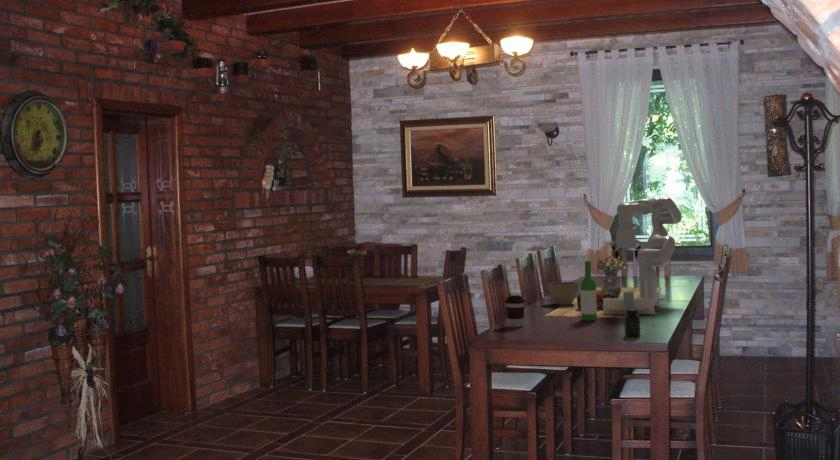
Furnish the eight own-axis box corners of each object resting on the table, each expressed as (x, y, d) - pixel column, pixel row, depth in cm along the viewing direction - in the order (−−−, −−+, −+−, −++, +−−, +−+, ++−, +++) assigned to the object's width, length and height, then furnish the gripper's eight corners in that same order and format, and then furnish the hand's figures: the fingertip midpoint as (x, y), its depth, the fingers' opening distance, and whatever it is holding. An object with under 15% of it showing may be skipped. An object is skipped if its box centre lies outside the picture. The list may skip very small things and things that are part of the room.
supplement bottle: (622, 335, 380) (622, 308, 379) (637, 334, 380) (636, 308, 380) (627, 337, 373) (627, 310, 373) (642, 336, 374) (642, 310, 373)
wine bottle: (580, 321, 423) (578, 261, 421) (582, 319, 430) (581, 260, 429) (595, 321, 420) (594, 261, 419) (598, 319, 427) (596, 260, 426)
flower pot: (584, 302, 489) (583, 282, 489) (572, 307, 474) (571, 285, 474) (555, 301, 499) (555, 281, 499) (543, 305, 484) (542, 284, 483)
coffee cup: (502, 326, 416) (501, 295, 416) (519, 324, 420) (518, 294, 420) (511, 328, 407) (511, 297, 407) (529, 326, 411) (528, 296, 411)
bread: (604, 306, 474) (604, 288, 474) (615, 308, 464) (615, 290, 464) (576, 309, 467) (575, 291, 467) (587, 311, 457) (586, 293, 457)
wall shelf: (603, 312, 449) (603, 297, 449) (654, 312, 443) (653, 297, 443) (603, 315, 439) (602, 300, 439) (654, 315, 433) (654, 300, 432)
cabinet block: (623, 306, 441) (623, 291, 441) (633, 306, 440) (633, 291, 439) (623, 308, 434) (623, 293, 434) (633, 308, 433) (633, 293, 432)
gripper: (642, 225, 454) (643, 257, 455) (609, 226, 458) (610, 257, 459) (642, 226, 447) (643, 258, 447) (609, 227, 451) (609, 259, 452)
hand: (626, 258), depth 453 cm, fingers open, 9 cm apart
